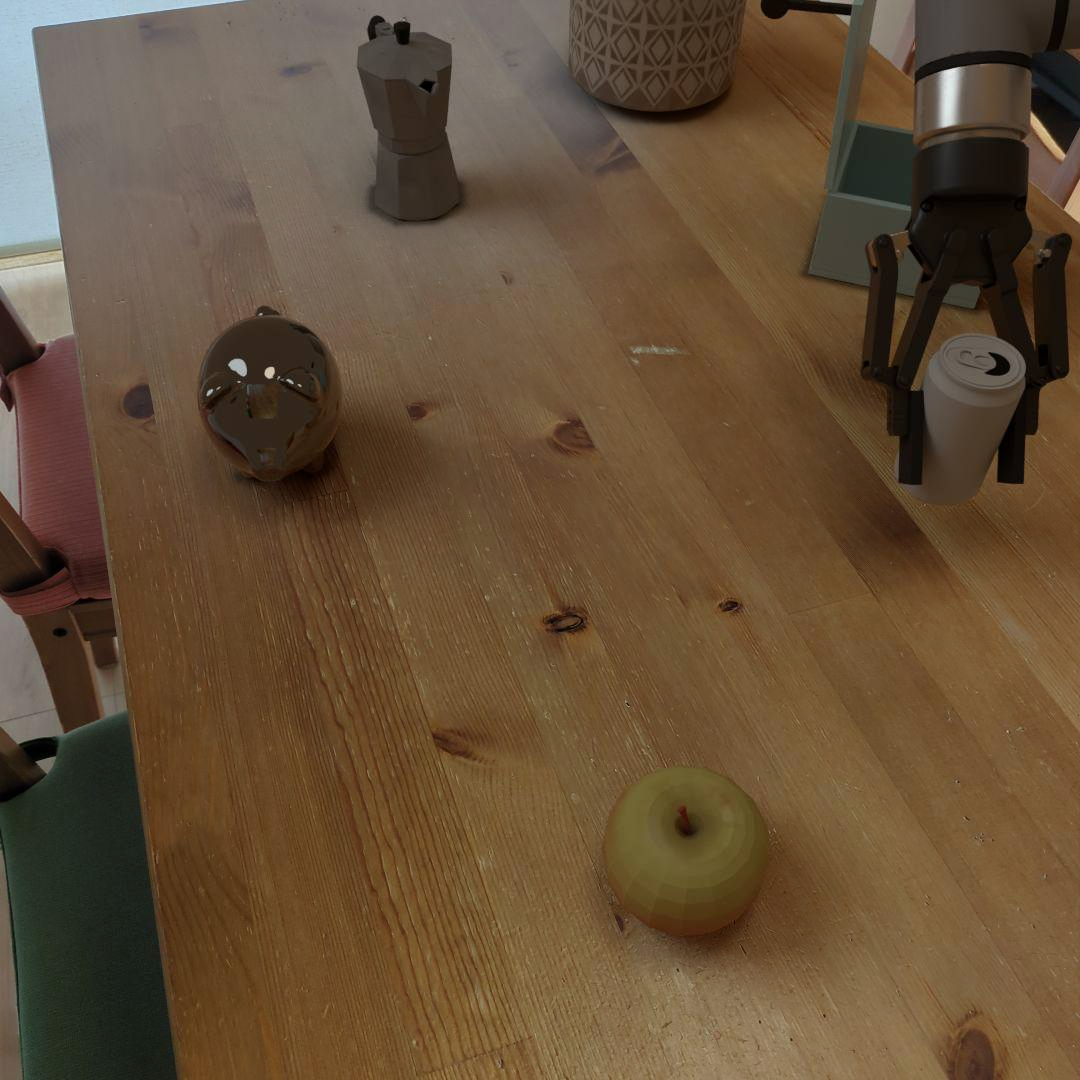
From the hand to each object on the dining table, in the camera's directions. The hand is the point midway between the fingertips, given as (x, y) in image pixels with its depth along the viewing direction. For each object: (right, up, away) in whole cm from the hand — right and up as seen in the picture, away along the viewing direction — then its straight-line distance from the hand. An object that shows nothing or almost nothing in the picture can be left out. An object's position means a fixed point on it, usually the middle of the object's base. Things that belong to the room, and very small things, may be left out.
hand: (960, 483), depth 78 cm
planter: (-17, +49, +52) cm, 73 cm away
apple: (-21, -25, -9) cm, 34 cm away
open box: (+6, +24, +31) cm, 40 cm away
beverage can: (0, 0, +5) cm, 5 cm away
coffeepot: (-43, +32, +37) cm, 65 cm away
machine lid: (-2, +38, +19) cm, 42 cm away
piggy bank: (-51, +3, +13) cm, 53 cm away
